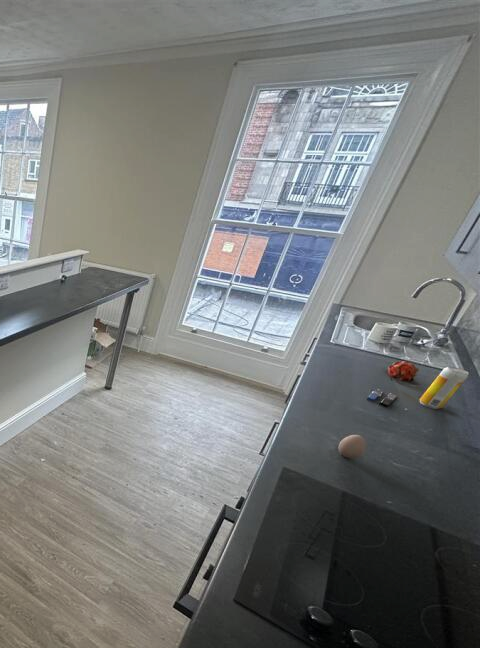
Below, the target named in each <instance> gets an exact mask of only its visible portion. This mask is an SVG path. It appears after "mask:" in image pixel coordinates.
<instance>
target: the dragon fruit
mask: <svg viewBox="0 0 480 648" xmlns="http://www.w3.org/2000/svg"><path fill="white" fill-rule="evenodd" d="M386 369H387V374H388V375H389V376H390V377H391V378H395V379H396V380H398V381H403V380H405V381H407V382H413V381H415V380H416V376H417V373H418V372H419V371H420V369H419V368H418V367H416V365H415V364H414V363H412V362H409V361H406V360H403V361H401V362H400V361H396V362H393V363H392V364H391V365H389V366H388V367H387V368H386Z"/></svg>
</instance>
